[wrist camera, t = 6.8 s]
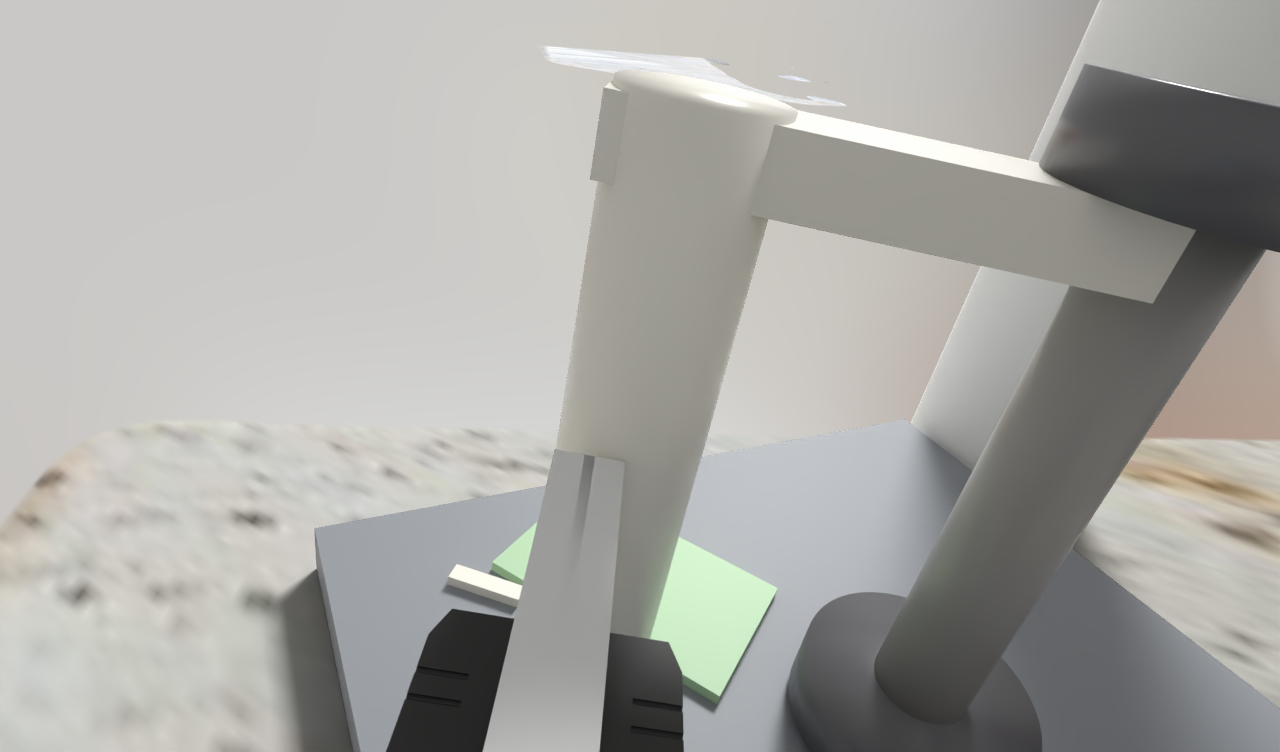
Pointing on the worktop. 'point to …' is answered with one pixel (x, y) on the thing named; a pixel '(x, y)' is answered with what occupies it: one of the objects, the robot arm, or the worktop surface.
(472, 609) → the plate
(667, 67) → the worktop surface
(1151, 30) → the cylindrical container
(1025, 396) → the post stand with crossbar
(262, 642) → the worktop surface
